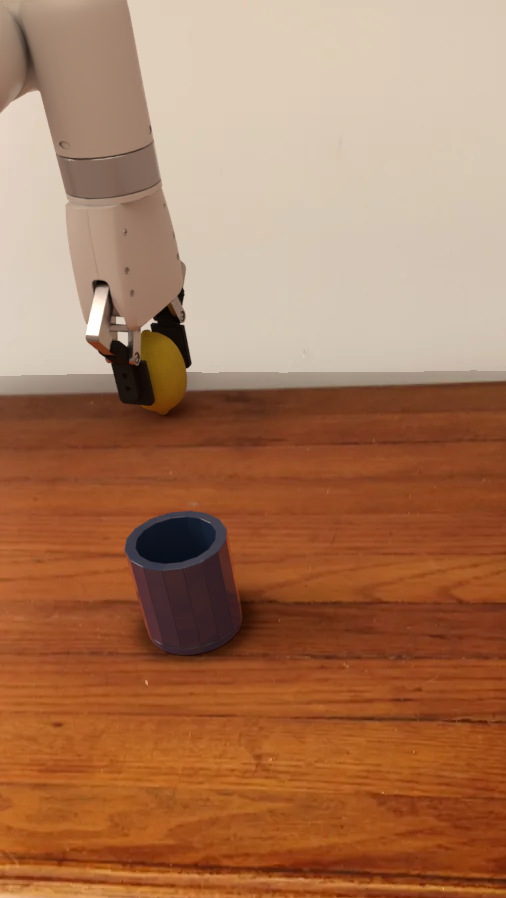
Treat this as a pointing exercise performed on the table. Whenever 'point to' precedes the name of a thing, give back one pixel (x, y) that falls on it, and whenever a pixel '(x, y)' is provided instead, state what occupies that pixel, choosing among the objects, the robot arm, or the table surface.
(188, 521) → the cup
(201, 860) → the table surface
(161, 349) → the lemon
